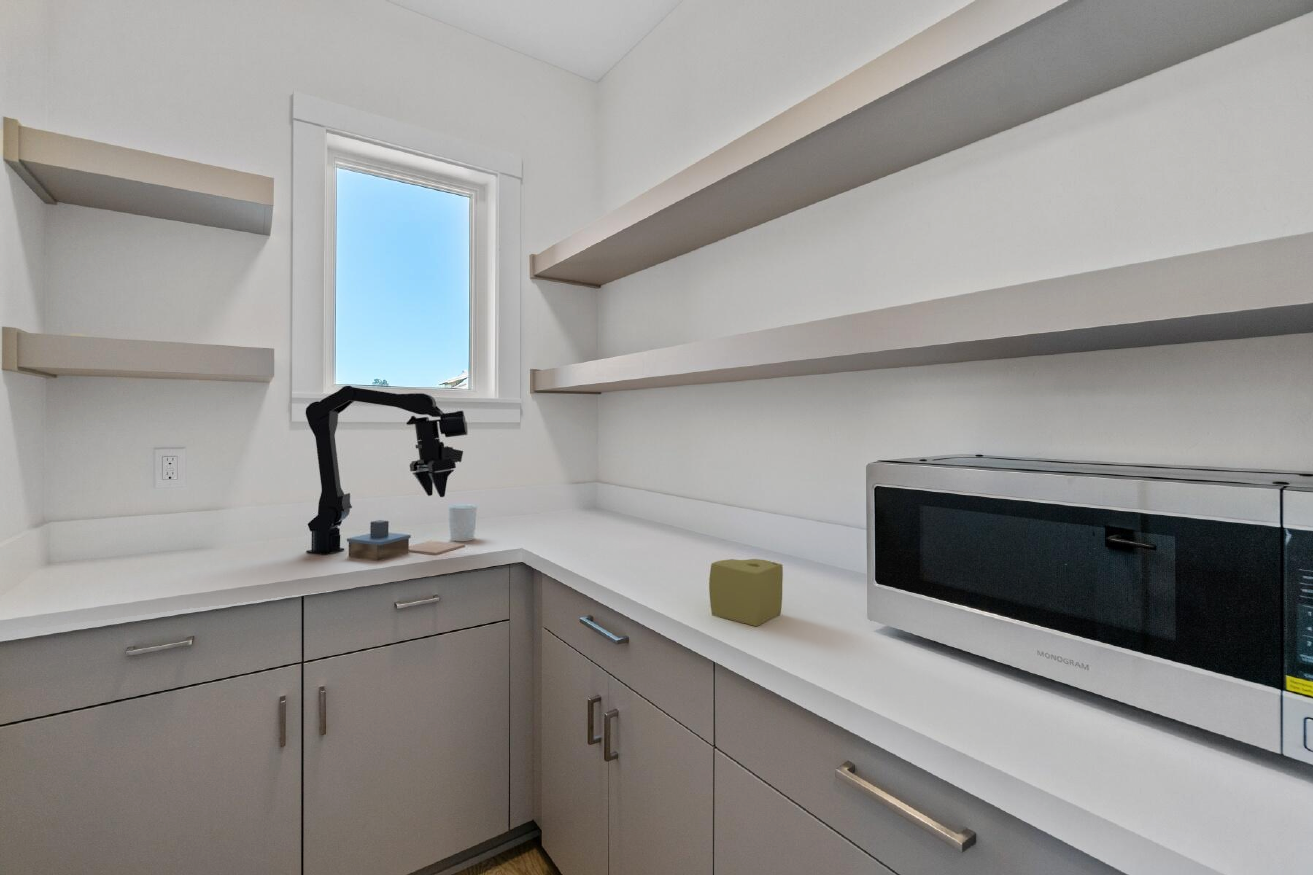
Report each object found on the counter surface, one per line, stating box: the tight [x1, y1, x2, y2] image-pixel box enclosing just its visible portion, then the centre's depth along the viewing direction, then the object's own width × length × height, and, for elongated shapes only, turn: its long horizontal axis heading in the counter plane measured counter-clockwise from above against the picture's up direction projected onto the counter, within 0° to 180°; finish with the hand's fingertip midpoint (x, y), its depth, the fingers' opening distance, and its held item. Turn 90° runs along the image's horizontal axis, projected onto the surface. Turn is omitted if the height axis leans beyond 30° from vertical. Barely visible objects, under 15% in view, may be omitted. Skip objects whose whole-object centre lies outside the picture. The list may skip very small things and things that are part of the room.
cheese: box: [708, 558, 784, 627], centre depth 110 cm, size 10×11×10 cm
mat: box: [409, 540, 466, 556], centre depth 161 cm, size 12×12×1 cm
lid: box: [346, 519, 412, 545], centre depth 152 cm, size 11×11×6 cm
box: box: [348, 538, 410, 562], centre depth 152 cm, size 10×10×4 cm
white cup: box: [448, 503, 478, 542], centre depth 174 cm, size 8×8×10 cm
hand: (436, 496), depth 159 cm, fingers open, 9 cm apart
